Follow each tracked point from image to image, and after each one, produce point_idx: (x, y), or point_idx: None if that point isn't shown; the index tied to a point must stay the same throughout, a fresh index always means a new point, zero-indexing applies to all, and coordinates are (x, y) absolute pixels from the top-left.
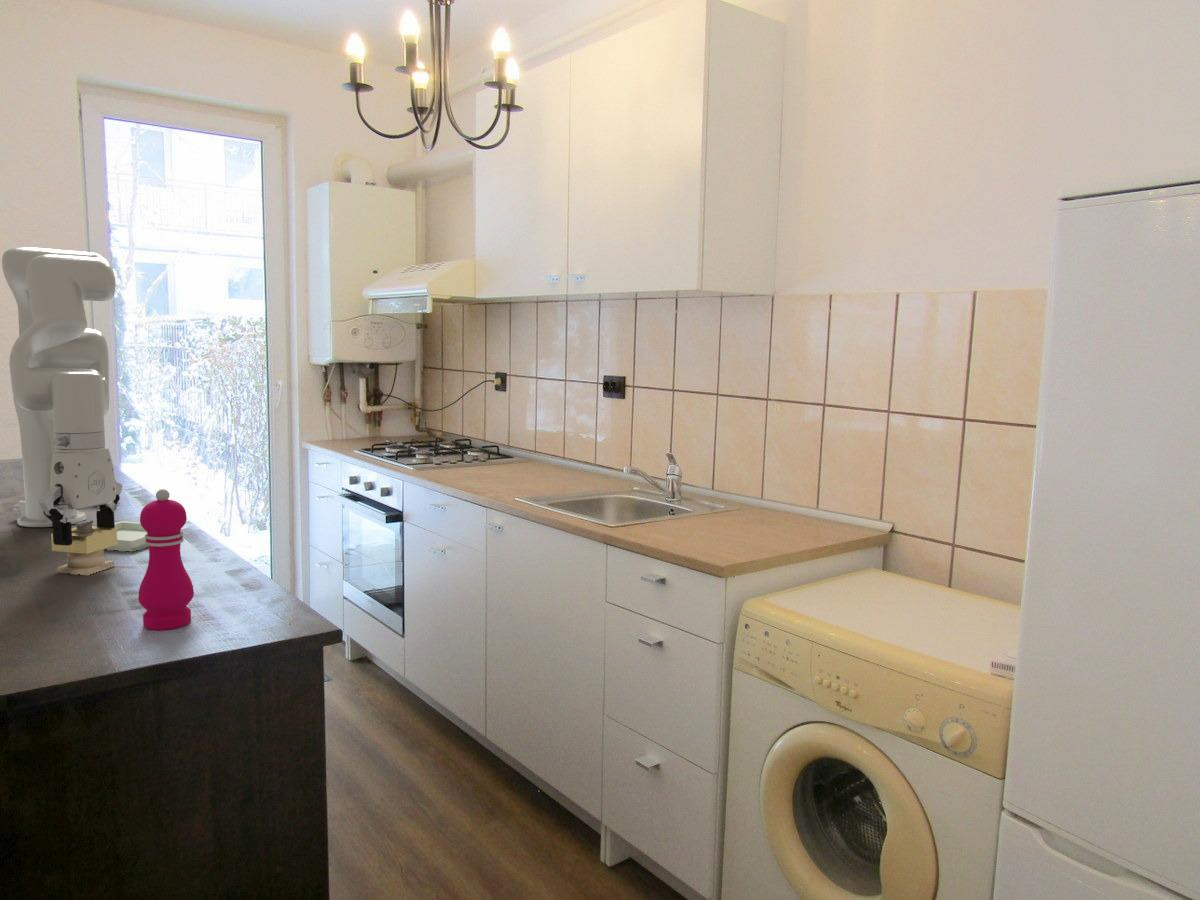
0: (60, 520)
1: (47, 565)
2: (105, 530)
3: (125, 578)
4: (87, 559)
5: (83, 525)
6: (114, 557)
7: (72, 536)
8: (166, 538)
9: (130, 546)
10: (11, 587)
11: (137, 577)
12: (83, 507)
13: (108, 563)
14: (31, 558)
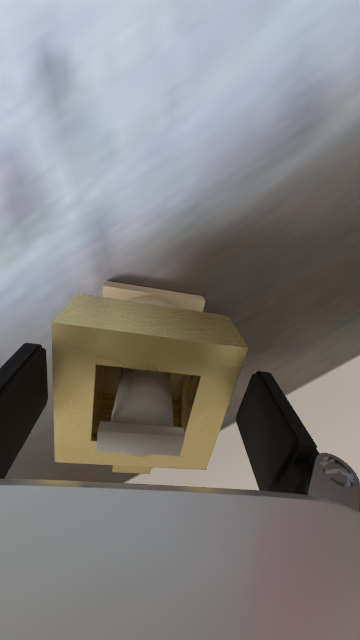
0: (348, 477)
1: None
2: (113, 343)
3: (226, 167)
4: None
5: (165, 424)
6: (15, 334)
7: (228, 401)
8: None
9: None
10: (295, 387)
11: (213, 128)
12: (311, 501)
13: (125, 288)
14: (86, 472)
